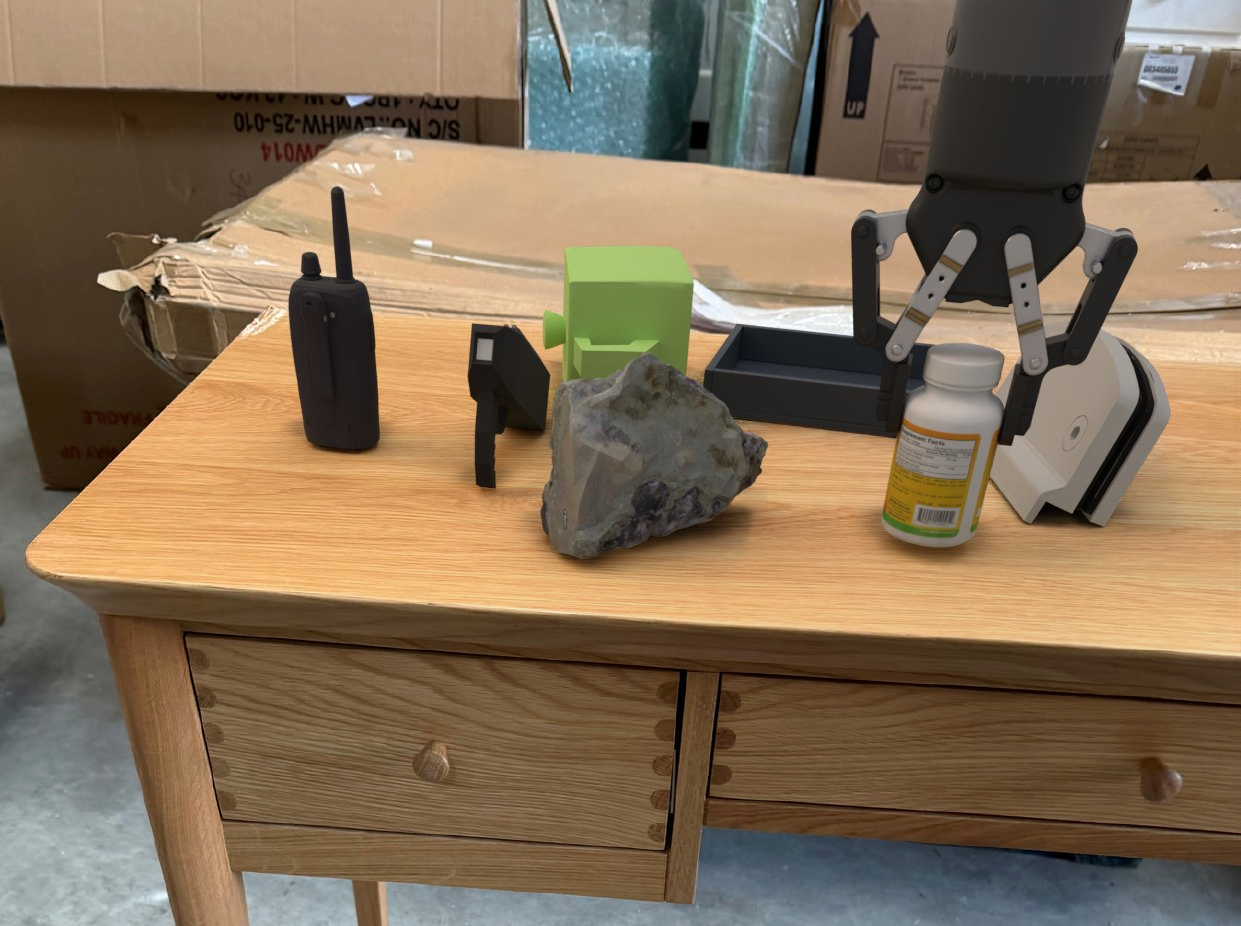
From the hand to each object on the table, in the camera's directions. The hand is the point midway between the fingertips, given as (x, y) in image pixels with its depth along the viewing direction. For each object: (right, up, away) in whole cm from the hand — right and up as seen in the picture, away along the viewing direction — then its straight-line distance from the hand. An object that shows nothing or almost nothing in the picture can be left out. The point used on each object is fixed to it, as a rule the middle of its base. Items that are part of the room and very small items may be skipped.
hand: (947, 433), depth 64 cm
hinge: (+11, +2, +13) cm, 17 cm away
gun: (-25, +4, +14) cm, 29 cm away
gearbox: (-18, +12, +24) cm, 32 cm away
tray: (-1, +12, +24) cm, 27 cm away
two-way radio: (-36, +4, +14) cm, 39 cm away
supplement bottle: (0, -4, +4) cm, 6 cm away
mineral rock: (-16, -5, +4) cm, 17 cm away
